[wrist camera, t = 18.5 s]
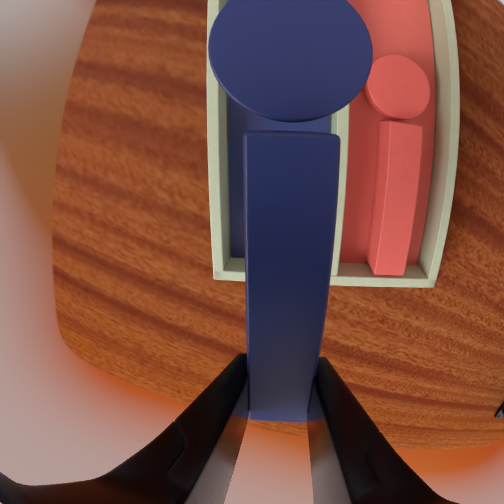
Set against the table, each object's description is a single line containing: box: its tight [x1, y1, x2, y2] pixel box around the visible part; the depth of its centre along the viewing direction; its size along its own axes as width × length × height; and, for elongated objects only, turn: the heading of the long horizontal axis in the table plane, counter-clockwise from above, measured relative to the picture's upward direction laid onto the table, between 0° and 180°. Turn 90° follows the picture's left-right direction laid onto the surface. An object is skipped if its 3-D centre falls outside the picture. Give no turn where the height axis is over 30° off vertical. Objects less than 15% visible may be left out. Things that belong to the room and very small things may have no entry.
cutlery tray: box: [207, 0, 460, 287], centre depth 14 cm, size 20×13×2 cm, turn 0°
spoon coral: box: [363, 54, 430, 275], centre depth 14 cm, size 12×4×2 cm, turn 0°
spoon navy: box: [208, 0, 373, 423], centre depth 7 cm, size 12×4×2 cm, turn 0°
